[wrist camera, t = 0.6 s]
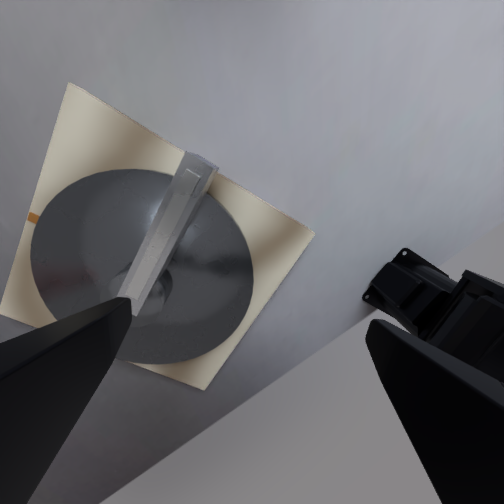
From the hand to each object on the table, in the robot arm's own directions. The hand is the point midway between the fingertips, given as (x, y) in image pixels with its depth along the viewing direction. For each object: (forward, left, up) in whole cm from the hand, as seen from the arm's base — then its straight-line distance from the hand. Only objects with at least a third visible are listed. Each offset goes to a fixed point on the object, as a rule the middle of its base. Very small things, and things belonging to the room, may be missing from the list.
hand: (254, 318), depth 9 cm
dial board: (+5, +7, -13) cm, 15 cm away
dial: (+5, +7, -11) cm, 14 cm away
